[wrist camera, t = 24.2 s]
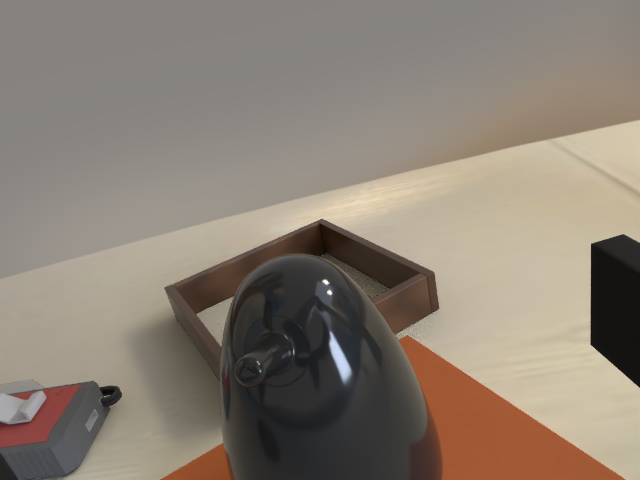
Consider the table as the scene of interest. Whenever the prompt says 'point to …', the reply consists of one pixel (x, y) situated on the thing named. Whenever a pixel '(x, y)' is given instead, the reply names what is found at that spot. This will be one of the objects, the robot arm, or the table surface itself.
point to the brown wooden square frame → (314, 239)
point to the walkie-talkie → (50, 425)
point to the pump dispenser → (319, 382)
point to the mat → (466, 433)
